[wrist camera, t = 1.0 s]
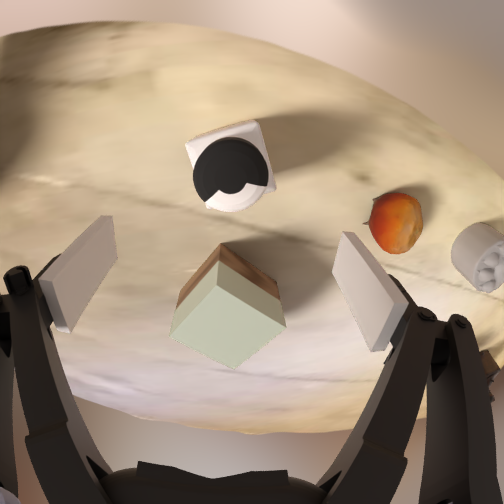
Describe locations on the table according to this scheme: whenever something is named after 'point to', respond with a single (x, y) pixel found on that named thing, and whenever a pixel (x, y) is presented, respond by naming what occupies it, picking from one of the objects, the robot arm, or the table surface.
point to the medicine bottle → (231, 166)
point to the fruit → (396, 222)
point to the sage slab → (227, 317)
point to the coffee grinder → (489, 370)
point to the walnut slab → (235, 264)
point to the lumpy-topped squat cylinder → (480, 256)
